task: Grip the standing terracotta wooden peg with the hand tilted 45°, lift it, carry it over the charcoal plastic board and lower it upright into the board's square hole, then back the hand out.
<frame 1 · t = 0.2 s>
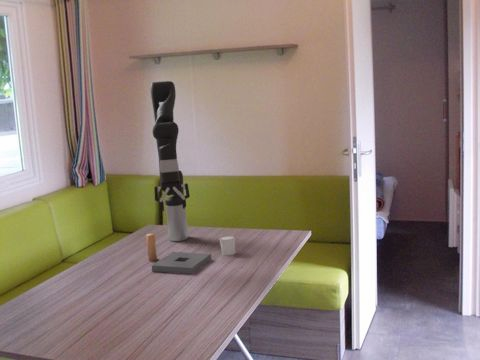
hand: (173, 209, 233), 22 cm above the table, tool pointing down, fingers open, 8 cm apart
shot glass: (228, 254, 243), on the table
peg board: (182, 265, 231), on the table
peg: (152, 259, 242), on the table
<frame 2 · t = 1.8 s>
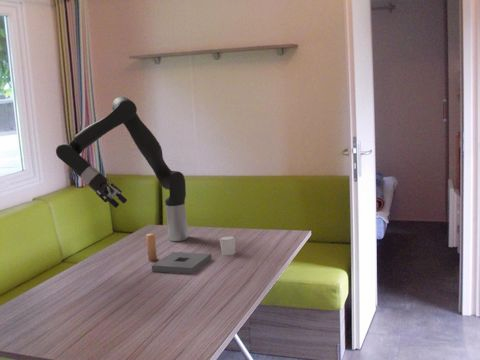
hand: (121, 204, 240), 25 cm above the table, tool tilted 45°, fingers open, 8 cm apart
nothing on the table moved.
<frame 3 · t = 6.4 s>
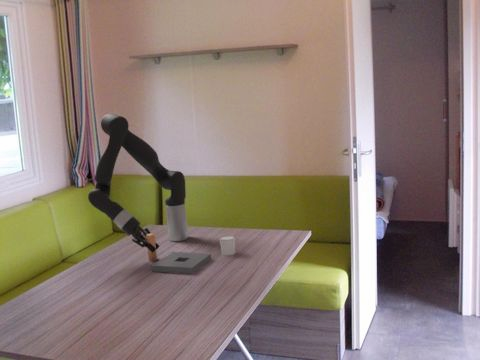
hand: (156, 249, 241), 5 cm above the table, tool tilted 45°, fingers closed on peg, 3 cm apart
peg: (152, 259, 242), on the table, touching gripper
everything else where it was.
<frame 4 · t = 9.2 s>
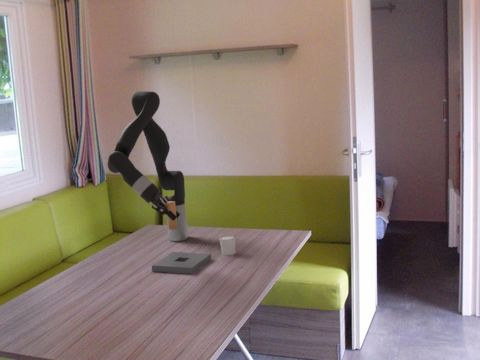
hand: (176, 217, 229), 20 cm above the table, tool tilted 45°, fingers closed on peg, 3 cm apart
peg: (173, 228, 230), point 16 cm above the table, touching gripper
everything else where it was.
when the fingers open (5 cm above the table, at t = 11.9 s): peg stays where it is, resting in peg board.
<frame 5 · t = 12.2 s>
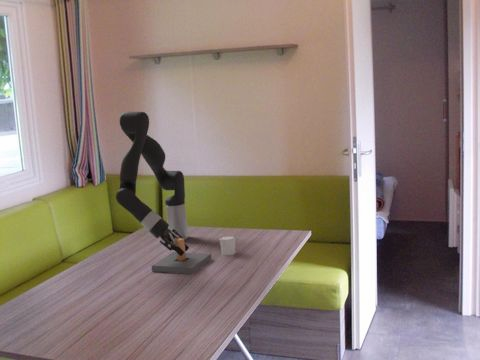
hand: (185, 251, 230), 6 cm above the table, tool tilted 45°, fingers open, 6 cm apart
peg: (182, 265, 231), resting in peg board
everything else where it was.
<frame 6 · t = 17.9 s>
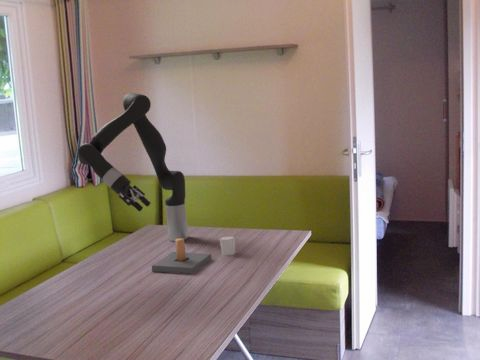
hand: (145, 207, 231), 25 cm above the table, tool tilted 45°, fingers open, 8 cm apart
nothing on the table moved.
at the end: peg 0.1 cm off-centre on the peg board, point 0.0 cm above the peg board's base; peg tilted 0°; the gripper is holding nothing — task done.
